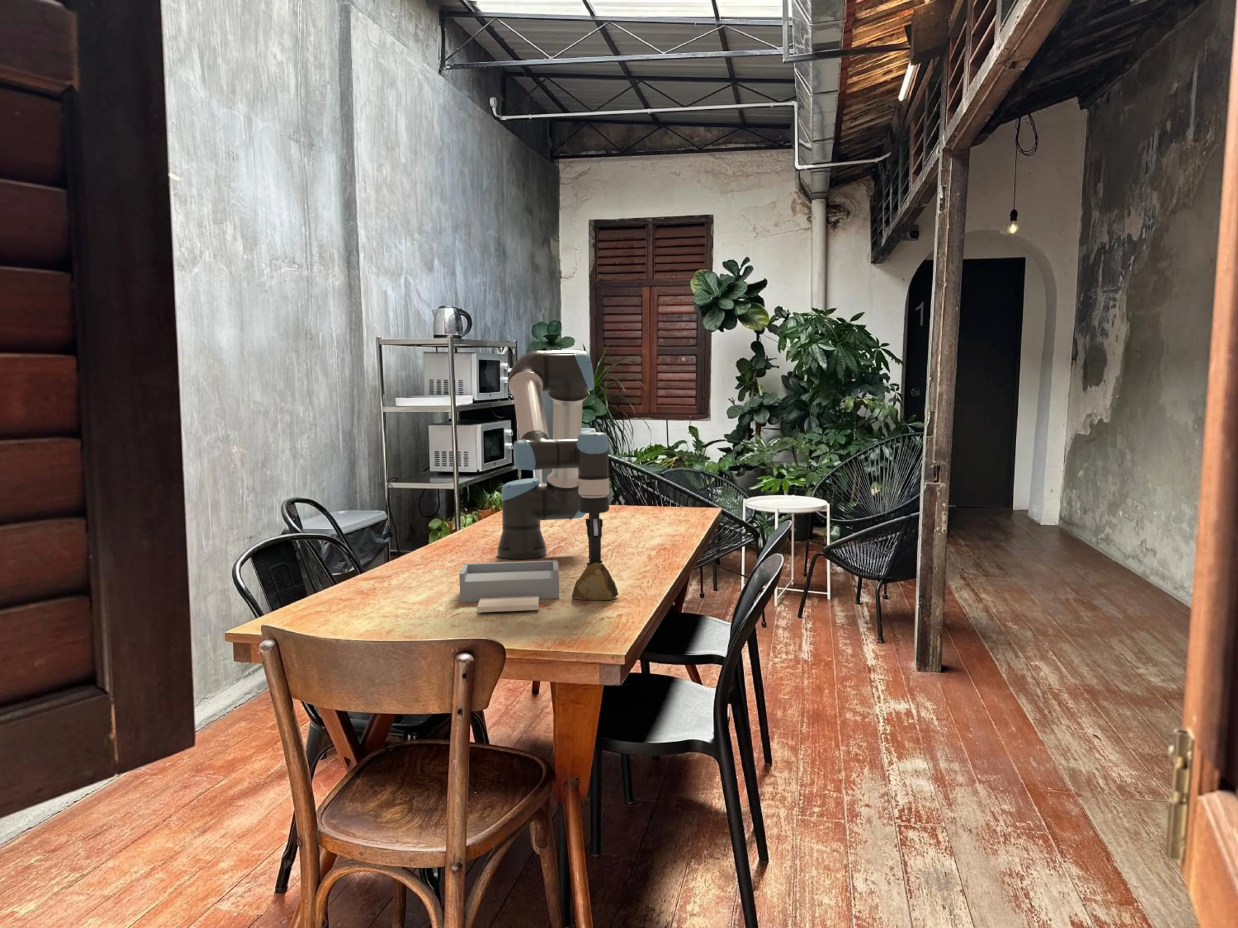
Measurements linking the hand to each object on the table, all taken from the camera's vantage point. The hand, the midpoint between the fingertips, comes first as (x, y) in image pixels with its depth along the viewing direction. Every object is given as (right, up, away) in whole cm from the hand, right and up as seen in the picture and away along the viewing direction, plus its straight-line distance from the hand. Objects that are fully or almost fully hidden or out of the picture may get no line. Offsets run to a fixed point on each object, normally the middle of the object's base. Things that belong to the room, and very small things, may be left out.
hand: (595, 590), depth 209 cm
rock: (0, -2, -2) cm, 3 cm away
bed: (-21, -2, +4) cm, 22 cm away
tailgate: (-21, -2, -4) cm, 21 cm away
